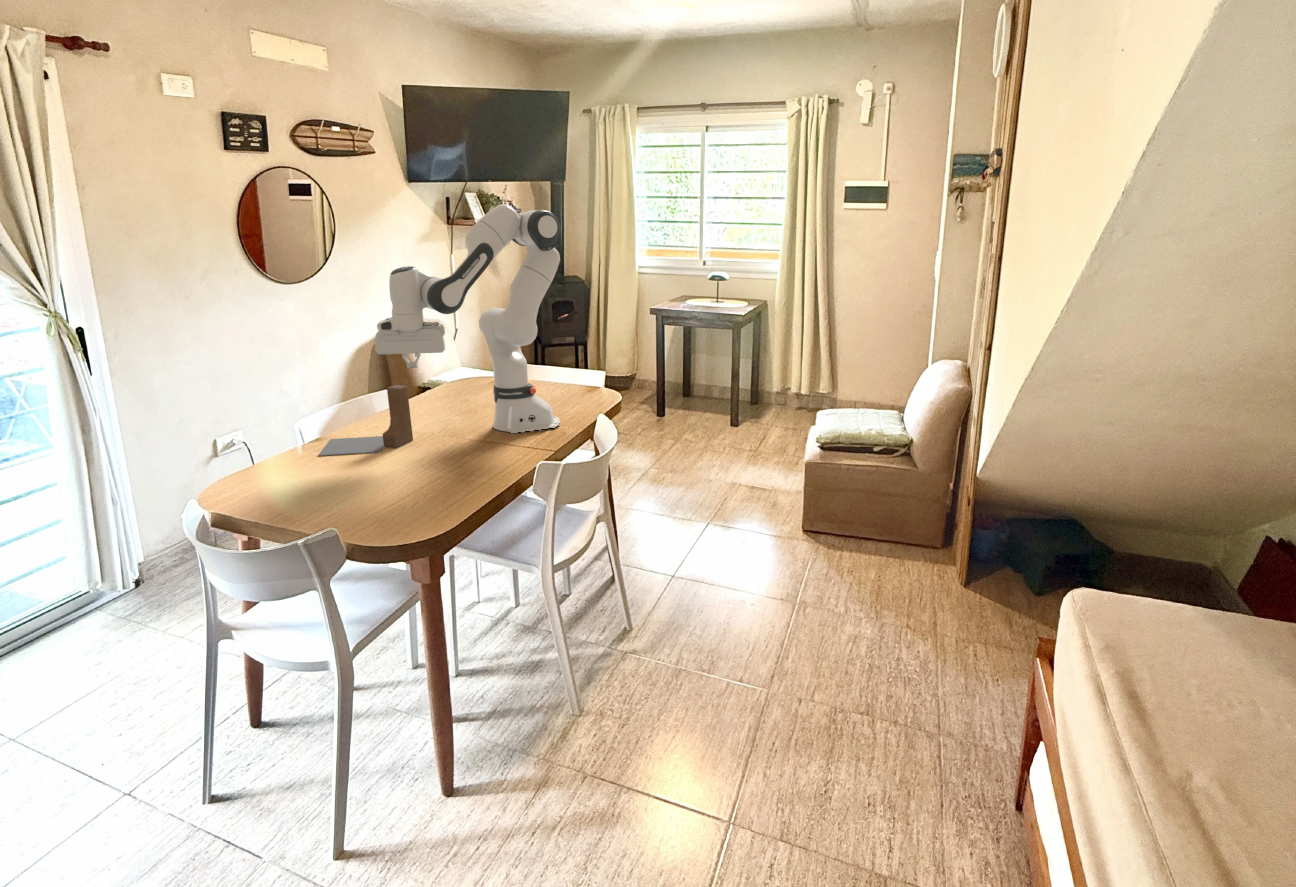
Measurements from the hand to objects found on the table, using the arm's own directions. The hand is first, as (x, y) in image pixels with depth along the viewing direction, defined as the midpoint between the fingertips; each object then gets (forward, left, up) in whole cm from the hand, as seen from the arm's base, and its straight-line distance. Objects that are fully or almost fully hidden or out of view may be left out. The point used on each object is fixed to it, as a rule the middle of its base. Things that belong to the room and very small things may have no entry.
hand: (412, 367), depth 227 cm
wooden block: (+7, 0, -24) cm, 25 cm away
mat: (+20, 0, -24) cm, 31 cm away
